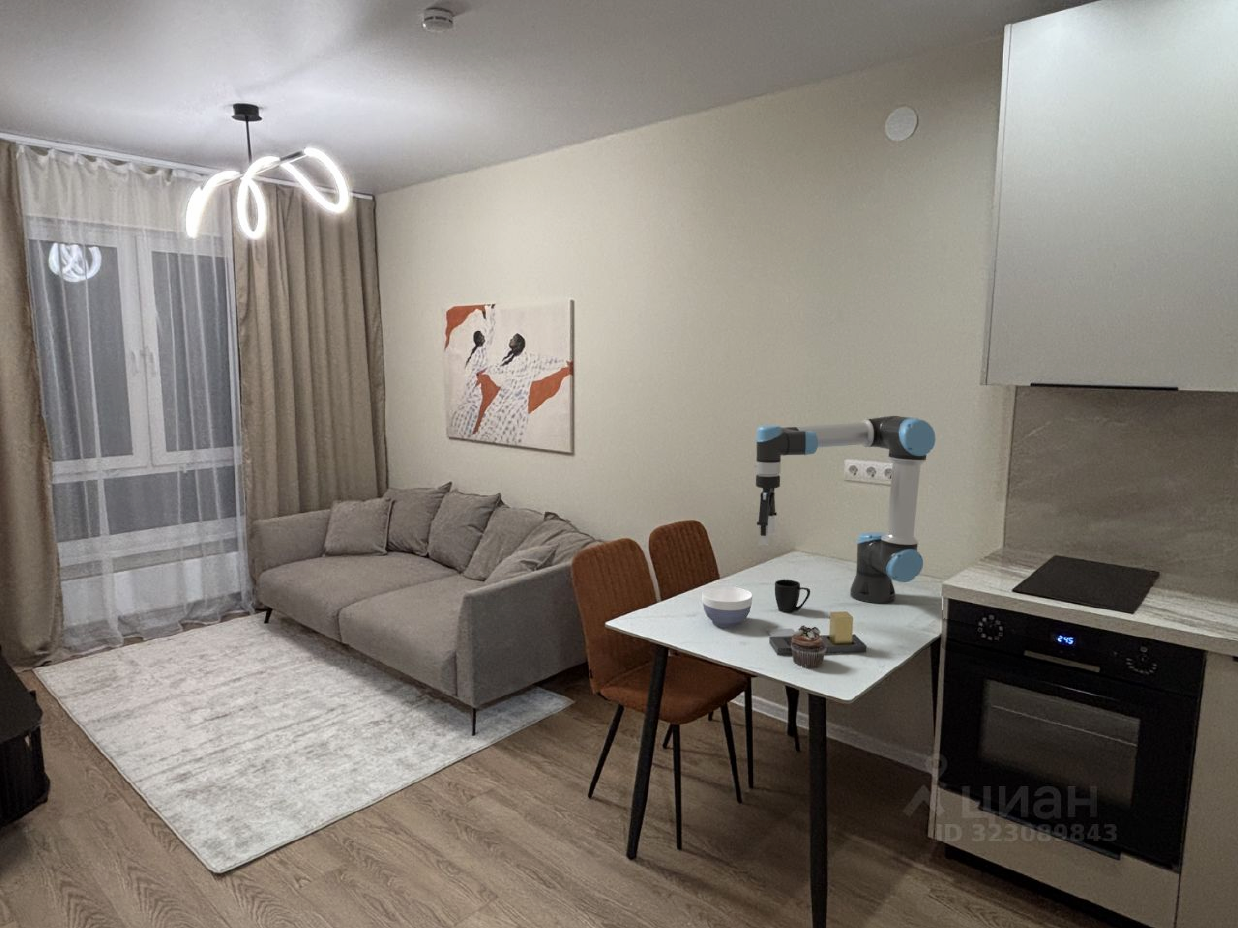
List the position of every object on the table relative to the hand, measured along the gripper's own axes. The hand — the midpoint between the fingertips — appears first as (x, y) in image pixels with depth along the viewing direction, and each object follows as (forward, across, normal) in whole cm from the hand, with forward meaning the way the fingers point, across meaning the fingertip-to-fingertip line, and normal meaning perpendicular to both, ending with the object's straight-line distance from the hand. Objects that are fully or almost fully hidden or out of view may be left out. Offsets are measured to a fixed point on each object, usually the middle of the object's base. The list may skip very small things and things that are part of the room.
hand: (766, 540), depth 240 cm
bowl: (+27, +6, -11) cm, 30 cm away
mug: (+27, -11, +7) cm, 30 cm away
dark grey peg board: (+26, +19, +18) cm, 37 cm away
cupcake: (+27, +30, +16) cm, 44 cm away
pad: (+26, +12, +7) cm, 30 cm away
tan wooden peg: (+26, +16, +24) cm, 39 cm away
